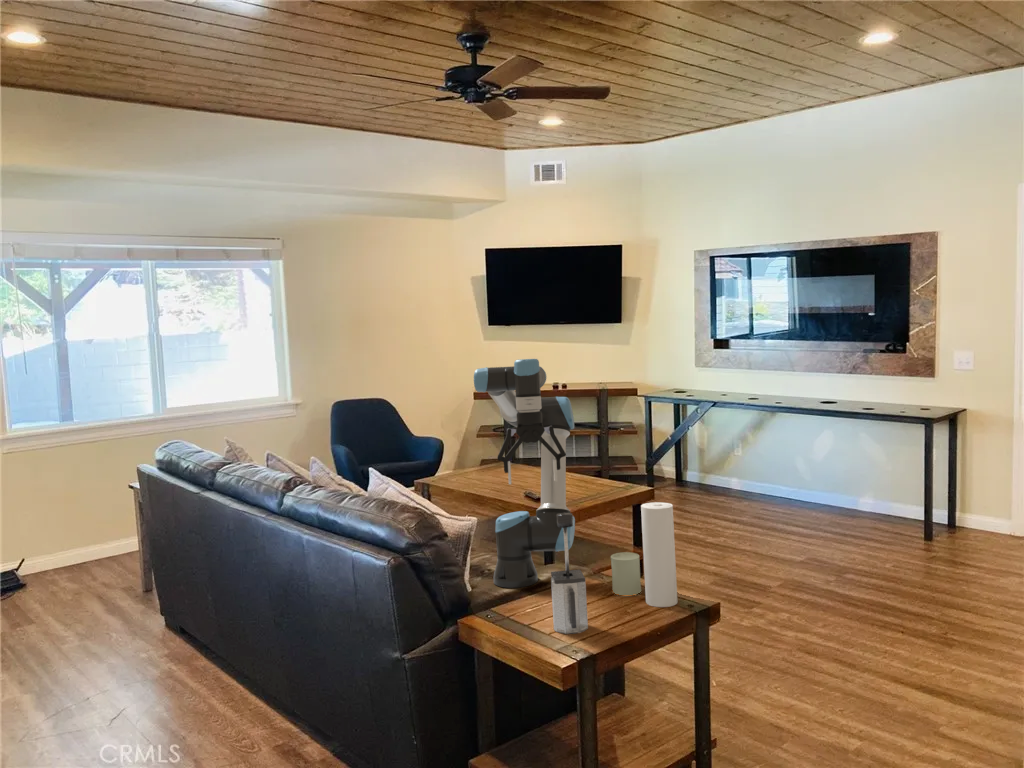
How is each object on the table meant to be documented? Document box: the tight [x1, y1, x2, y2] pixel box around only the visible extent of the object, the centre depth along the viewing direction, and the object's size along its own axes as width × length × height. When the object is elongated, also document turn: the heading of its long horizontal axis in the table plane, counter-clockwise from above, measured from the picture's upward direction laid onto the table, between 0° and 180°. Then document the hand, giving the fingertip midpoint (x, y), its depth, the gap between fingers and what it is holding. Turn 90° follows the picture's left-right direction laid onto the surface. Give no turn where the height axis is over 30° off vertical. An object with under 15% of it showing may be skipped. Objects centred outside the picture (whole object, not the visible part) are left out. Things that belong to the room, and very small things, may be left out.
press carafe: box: [550, 569, 589, 635], centre depth 213 cm, size 12×10×15 cm
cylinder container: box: [640, 501, 678, 608], centre depth 231 cm, size 9×9×30 cm
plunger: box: [557, 512, 573, 576], centre depth 214 cm, size 7×7×20 cm
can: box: [610, 551, 642, 595], centre depth 243 cm, size 9×9×12 cm
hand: (532, 482), depth 227 cm, fingers open, 13 cm apart
